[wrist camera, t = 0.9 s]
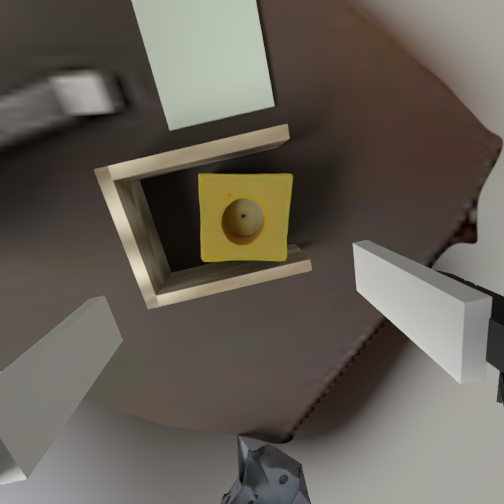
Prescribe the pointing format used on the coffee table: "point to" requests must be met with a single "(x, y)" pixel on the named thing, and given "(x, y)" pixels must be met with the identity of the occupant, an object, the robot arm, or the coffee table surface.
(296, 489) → the crumpled grey paper
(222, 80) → the felt mat
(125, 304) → the coffee table surface
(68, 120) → the coffee table surface
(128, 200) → the wooden u-shaped frame
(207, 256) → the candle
